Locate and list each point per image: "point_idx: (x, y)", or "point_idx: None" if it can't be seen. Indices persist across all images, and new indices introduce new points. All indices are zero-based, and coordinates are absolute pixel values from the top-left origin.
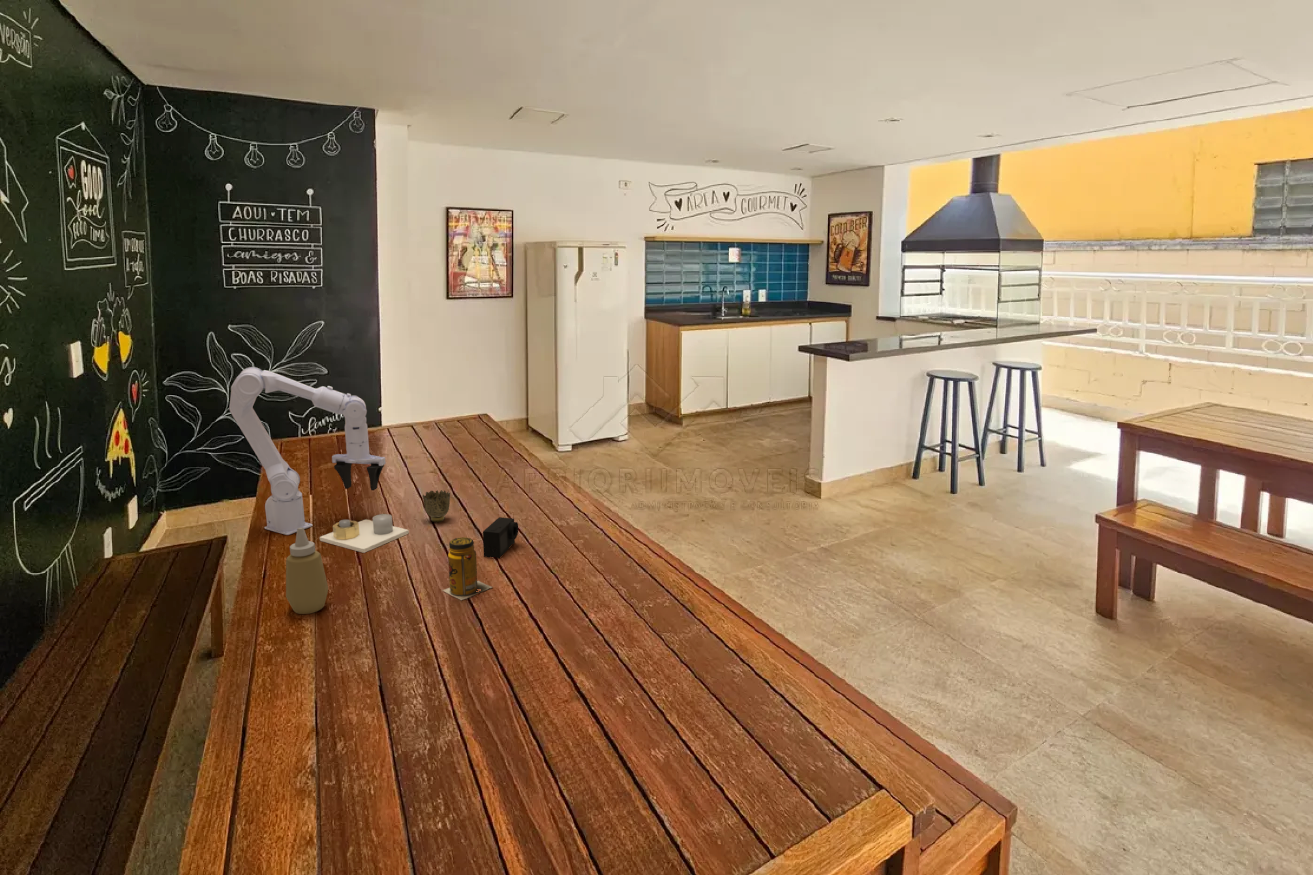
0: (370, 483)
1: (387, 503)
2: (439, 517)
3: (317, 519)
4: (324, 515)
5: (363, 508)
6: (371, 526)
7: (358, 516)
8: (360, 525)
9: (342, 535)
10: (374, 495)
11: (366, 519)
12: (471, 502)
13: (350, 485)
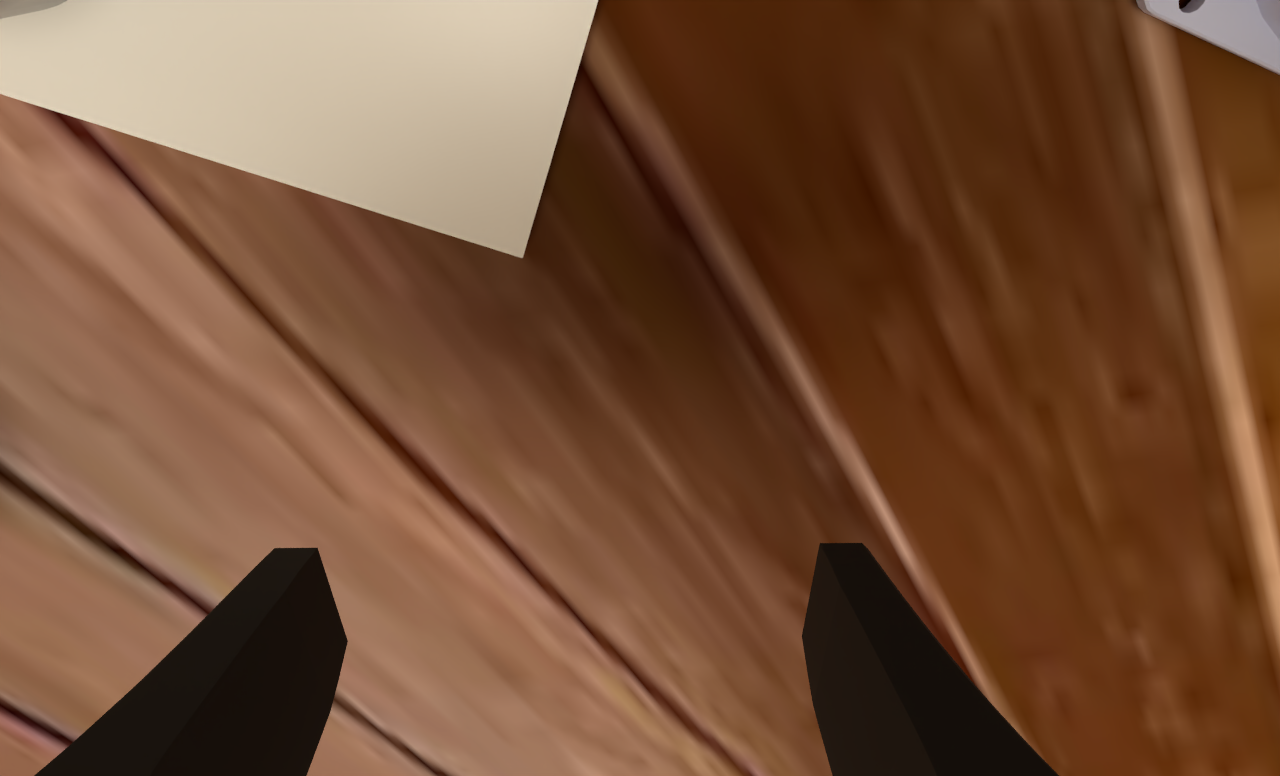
0: (221, 658)
1: (616, 661)
2: None
3: (1124, 237)
4: (1076, 353)
5: (761, 553)
6: (282, 30)
7: (709, 386)
8: (452, 38)
9: None
10: (801, 754)
11: (510, 254)
12: (4, 757)
13: (809, 644)
